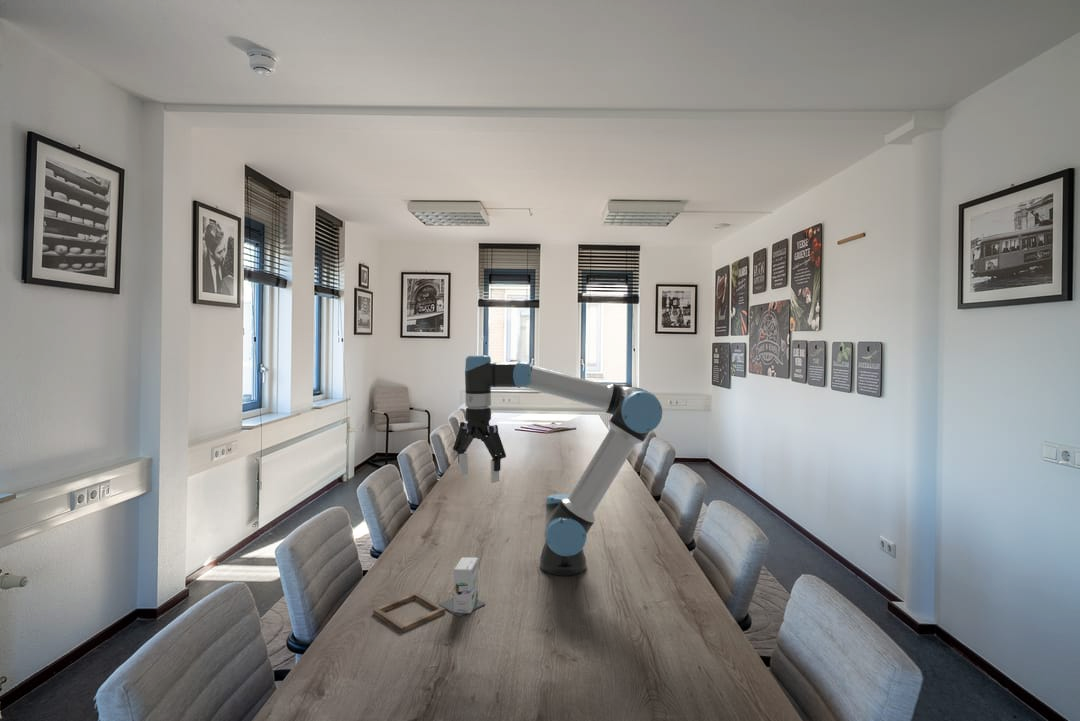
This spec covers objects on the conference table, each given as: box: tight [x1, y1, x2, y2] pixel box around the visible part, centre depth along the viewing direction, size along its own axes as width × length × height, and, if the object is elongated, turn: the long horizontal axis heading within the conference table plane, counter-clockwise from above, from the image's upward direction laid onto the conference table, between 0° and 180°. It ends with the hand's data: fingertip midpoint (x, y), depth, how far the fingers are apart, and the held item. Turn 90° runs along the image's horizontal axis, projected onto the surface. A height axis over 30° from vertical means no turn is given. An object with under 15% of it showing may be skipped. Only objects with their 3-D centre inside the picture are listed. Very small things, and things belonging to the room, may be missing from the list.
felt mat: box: [438, 596, 486, 618], centre depth 144 cm, size 9×9×1 cm
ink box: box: [453, 557, 479, 614], centre depth 142 cm, size 8×5×12 cm, turn 174°
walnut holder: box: [372, 591, 446, 634], centre depth 139 cm, size 13×13×1 cm
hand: (478, 478), depth 156 cm, fingers open, 13 cm apart
